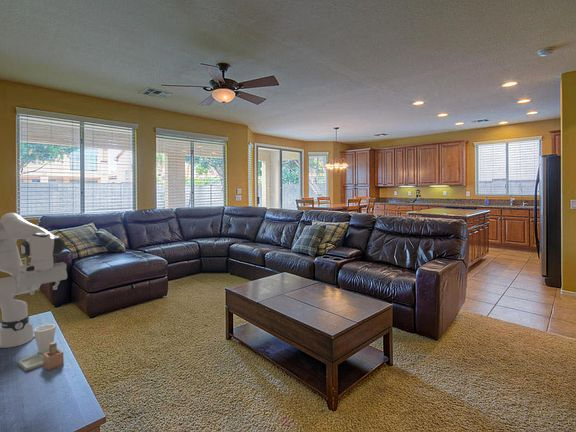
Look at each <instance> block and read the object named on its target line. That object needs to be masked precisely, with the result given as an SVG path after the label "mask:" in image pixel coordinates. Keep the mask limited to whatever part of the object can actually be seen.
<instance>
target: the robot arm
mask: <svg viewBox="0 0 576 432" xmlns="http://www.w3.org/2000/svg"><path fill="white" fill-rule="evenodd" d="M18 240H20V241H21V243H20V246H19V247H20V249H19V247H18V245H17V242H18ZM65 249H66V243H65V241H64V239H63V238H62V237H60V236H59V235H54V233H52V232H50V230H49V231H48V230H47V229H45V227H42V226H39V225H37V224H34V223H31V222H30V221H28V220H27V219H26V218H25V217H24V216H22V215H20V214H18V213H16V212H7V213H5V214H3V215H2V216H1V218H0V272H1V273H7V274H9V275H10V276H6V277H1V278H0V310H1V317H2V318H1V319H2V320H1V321H0V322H1V323H0V324H1V325H0V326H1V327H0V349H2V348H4V349H5V348H14V347H18V346H21V345H25V344H27V343H29V342H30V341H32V340H33V339H34V338H35V335H34V328H33V324H32V323H31V322H29V321H30V318H29V315H28V304H27V302H26V301H23V300H21V299H15V298H14V296H18V295H22V294H27V293H29V295H30V296H33V295H35V294H36V293H35V292H36V291H35V290H38V289H39V288H40V287H41V285H42V284H48V283H53V282H54V283H55V284H54V285H53V286H52V290H53V291H57V290H58V286H59V284H60V281H63V280H67V279H68V272H67V267H68V266H67V263H66V262H63V261H61V262H60V261H59V262H54V256H58V255H59V256H60V254H61V253H62V252H63V251H64V250H65ZM20 254H21V256H22V257H25V258H31V260H30V262H28V263H26V264H23V262H22V259H21V256H20Z"/></svg>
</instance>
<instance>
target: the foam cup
mask: <svg viewBox="0 0 576 432" xmlns="http://www.w3.org/2000/svg"><path fill="white" fill-rule="evenodd" d="M56 329H57V328H56V324H54V323H47V324H43V325H39V326H37V327H35V328H33V333H34V335H35V337H34V338H35V340H36V341H35V342H36V347H37V351H38V353H40V354H43V353H46V352H49V344H50V343H53V342H55V334H56Z"/></svg>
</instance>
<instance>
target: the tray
mask: <svg viewBox="0 0 576 432" xmlns="http://www.w3.org/2000/svg"><path fill="white" fill-rule="evenodd" d="M17 364H18V365H19V366H20V367H21V368H22V369H23V370H24V371H25V372H26V373H28V372H30V371H33V370H34V369H37V368H39V367H40V368H41V367H44V363H43V354H42V353H39V352H38V353H36V354H33V355H30V356H28V357H24V358H21V359H19V360H17Z"/></svg>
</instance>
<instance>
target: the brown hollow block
mask: <svg viewBox="0 0 576 432" xmlns="http://www.w3.org/2000/svg"><path fill="white" fill-rule="evenodd" d="M42 356H43V363H44V365H43V368H44V369H46V371H48V372H50V371H53V370H56V369H58V368H60V367H64V366H65V365H64V364H65V361H64V351H62V350H61V349H59V348H57V354H54V355H52V356H50V354H49V352H46V353H42Z"/></svg>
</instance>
